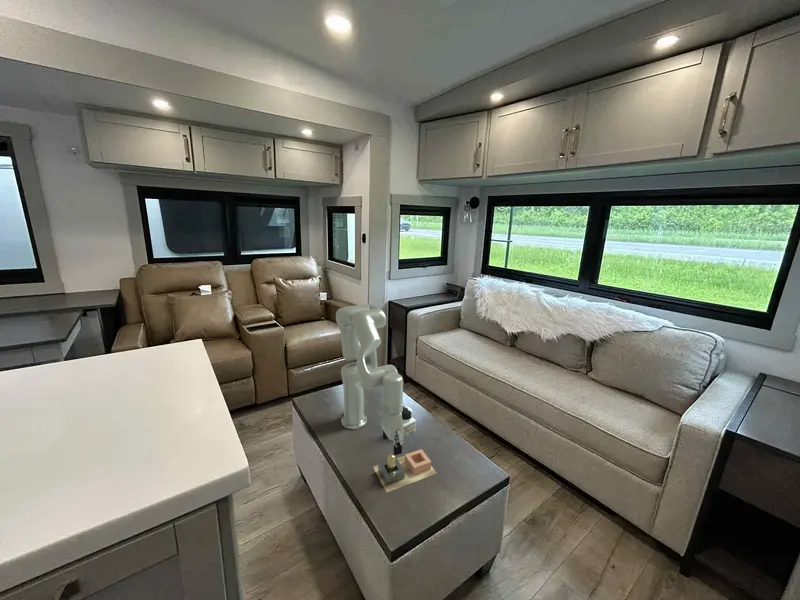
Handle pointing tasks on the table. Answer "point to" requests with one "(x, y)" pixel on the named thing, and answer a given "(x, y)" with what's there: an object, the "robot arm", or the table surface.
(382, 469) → the mount collar
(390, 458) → the brass pin
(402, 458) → the oak board
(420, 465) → the socket collar
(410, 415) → the container
